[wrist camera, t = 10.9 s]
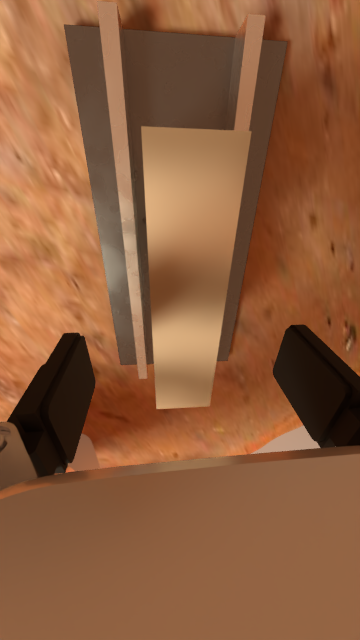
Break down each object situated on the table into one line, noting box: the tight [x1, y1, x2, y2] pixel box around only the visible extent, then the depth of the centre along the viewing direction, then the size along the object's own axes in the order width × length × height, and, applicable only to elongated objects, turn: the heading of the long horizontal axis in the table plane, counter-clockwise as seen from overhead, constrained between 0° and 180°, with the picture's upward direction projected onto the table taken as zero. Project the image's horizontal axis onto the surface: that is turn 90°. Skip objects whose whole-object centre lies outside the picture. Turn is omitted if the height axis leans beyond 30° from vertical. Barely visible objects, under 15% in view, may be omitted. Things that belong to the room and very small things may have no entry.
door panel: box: [141, 126, 252, 409], centre depth 17 cm, size 16×4×11 cm, turn 179°
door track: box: [64, 1, 287, 379], centre depth 21 cm, size 28×14×4 cm, turn 179°
